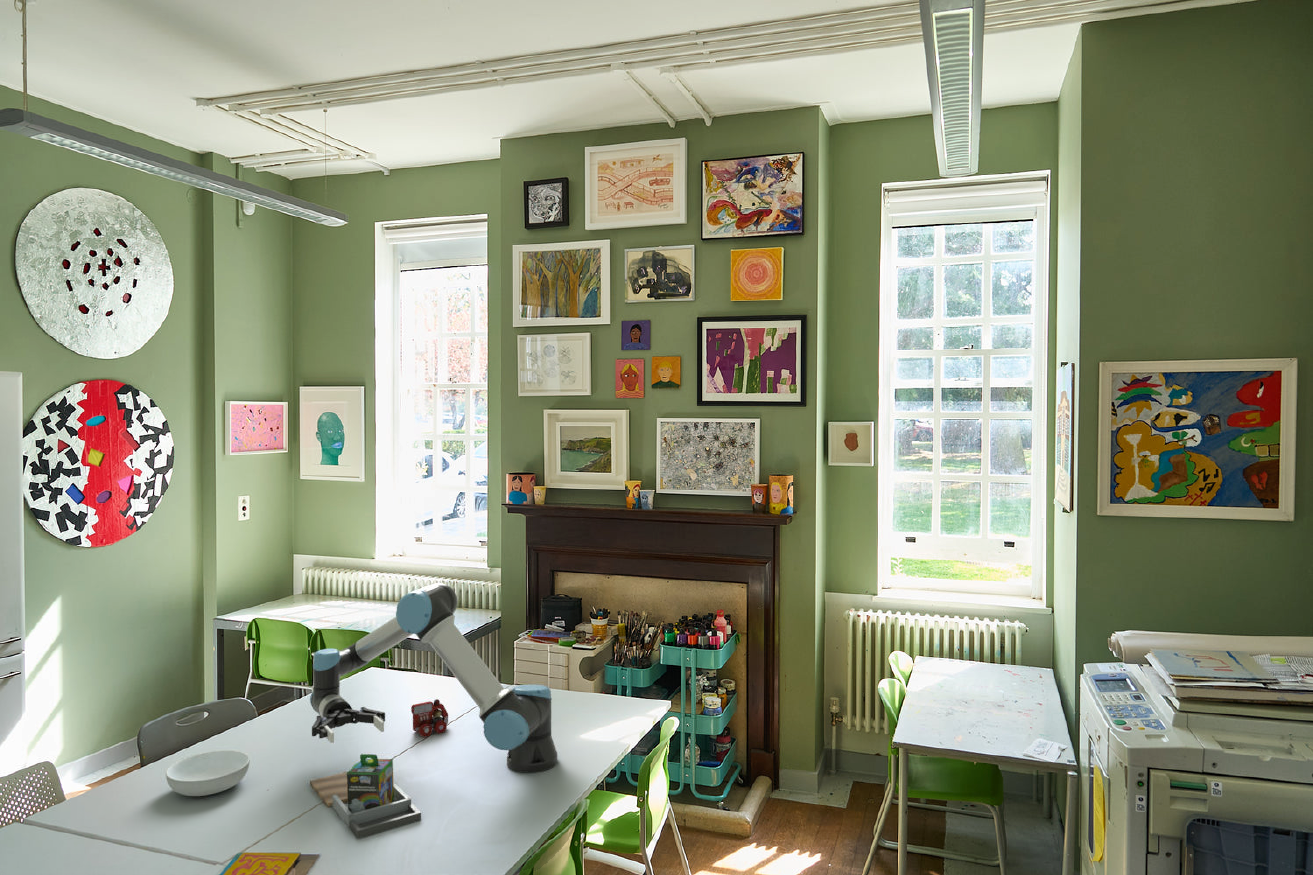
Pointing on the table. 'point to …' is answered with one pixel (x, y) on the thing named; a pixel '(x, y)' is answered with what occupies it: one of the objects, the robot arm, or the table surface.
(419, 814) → the grey open tray
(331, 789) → the wooden board
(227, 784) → the serving bowl
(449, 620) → the robot arm
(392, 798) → the chalk box
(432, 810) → the table surface
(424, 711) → the toy fire truck
